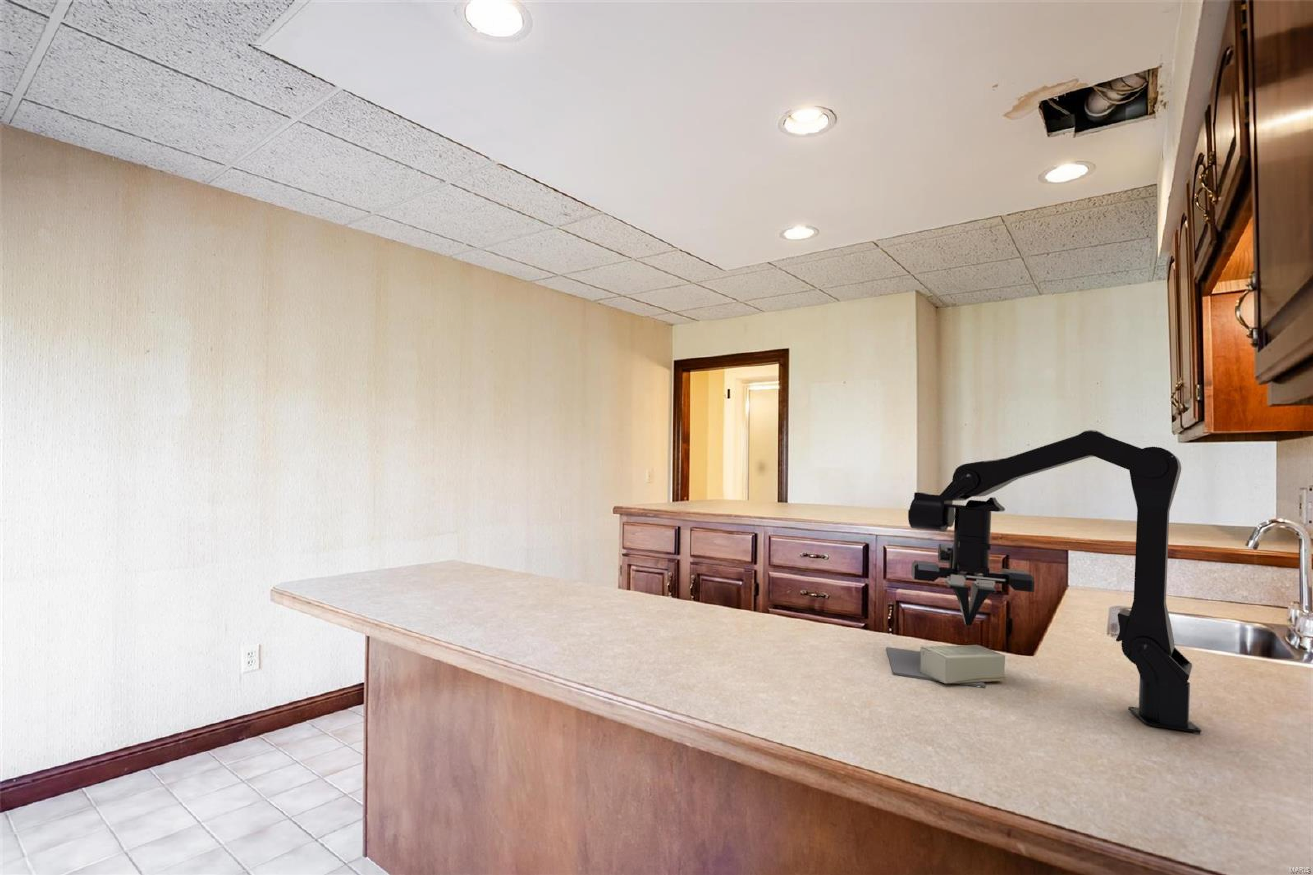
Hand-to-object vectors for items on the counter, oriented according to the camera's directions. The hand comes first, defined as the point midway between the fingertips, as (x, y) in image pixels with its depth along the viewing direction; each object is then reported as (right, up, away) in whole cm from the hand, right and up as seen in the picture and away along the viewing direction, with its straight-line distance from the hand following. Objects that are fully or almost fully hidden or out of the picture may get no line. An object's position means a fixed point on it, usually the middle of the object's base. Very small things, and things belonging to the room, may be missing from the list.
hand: (967, 625), depth 110 cm
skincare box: (+3, -6, -2) cm, 7 cm away
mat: (-6, -8, +1) cm, 10 cm away
